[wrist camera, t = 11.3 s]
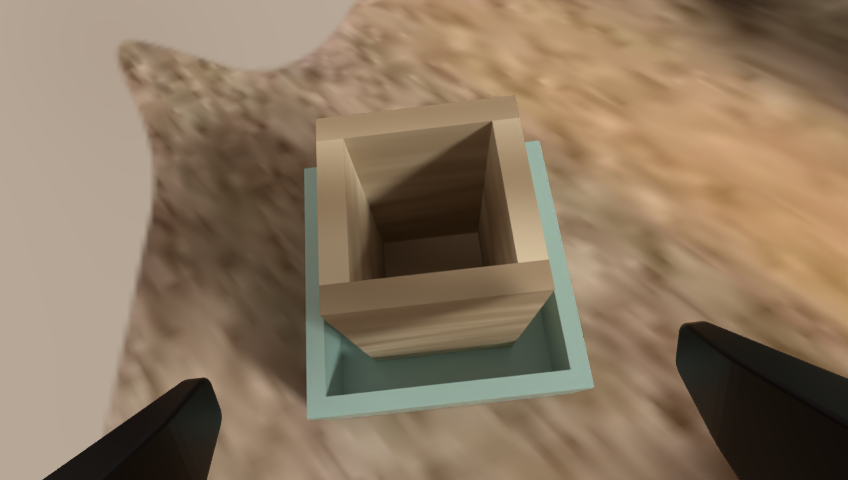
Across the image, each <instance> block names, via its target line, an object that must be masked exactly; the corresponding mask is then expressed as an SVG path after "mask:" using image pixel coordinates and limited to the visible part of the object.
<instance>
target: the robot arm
mask: <svg viewBox="0 0 848 480" xmlns="http://www.w3.org/2000/svg"><path fill="white" fill-rule="evenodd" d="M676 365H677V369H678V372H679V374H680V376H681V378H682V380H683V382H684V384H685V386H686V388H687V389H688V391H689V393H690V395H691V397H692V399H693V401H694V403H695V405H696V407H697V409H698V411H699V413H700V415H701V416H702V418H703V420H704V422H705V424H706V426H707V428H708V430H709V432H710V434H711V436H712V437H713V439H714V441H715V443H716V445H717V446H718V448H719V449H720V451H721V453H722V454H723V456H724V457H725V459H726V460H727V462H728V463H729V465H730V467H731V468H732V470H733V471H734V473H735V474H736V476H737V477H738V479H739V480H848V378H845V377H843V376H840V375H838V374H835V373H833V372H830V371H828V370H825V369H823V368H820V367H818V366H815V365H813V364H810V363H808V362H805V361H803V360H800V359H798V358H795V357H793V356H790V355H788V354H785V353H783V352H780V351H778V350H776V349H773V348H771V347H768V346H766V345H763V344H761V343H758V342H756V341H753V340H751V339H748V338H746V337H743V336H741V335H738V334H736V333H733V332H731V331H728V330H726V329H723V328H721V327H718V326H716V325H713V324H711V323H709V322H705V321H700V322H691V323H684V324H683V325H682V326H681V327H680V330H679V336H678V344H677V353H676ZM221 420H222V414H221V409H220V406H219V404H218V401H217V398H216V395H215V393H214V390H213V387H212V384H211V382H210V381H209V380H208V379H207V378H195V379H187V380H184V381H182V382H181V383H179V384H178V385H177V386H175V387H174V388H172V389H171V390H169V391H168V392H167V393H165V394H164V395H162V396H161V397H159V398H158V399H157V400H155V401H154V402H152V403H151V404H150V405H148V406H147V407H145V408H144V409H142V410H141V411H140V412H138V413H137V414H135V415H134V416H132V417H131V418H130V419H128V420H127V421H125V422H124V423H122V424H121V425H120V426H118V427H117V428H115V429H114V430H113V431H111V432H110V433H108V434H107V435H105V436H104V437H103V438H101V439H100V440H98V441H97V442H95V443H94V444H93V445H91V446H90V447H88V448H87V449H86V450H84V451H83V452H81V453H80V454H78V455H77V456H76V457H74V458H73V459H71V460H70V461H68V462H67V463H66V464H64V465H63V466H61V467H60V468H58V469H57V470H56V471H54V472H53V473H51V474H50V475H48V476H47V477H46V478H44V479H43V480H207V477H208V473H209V469H210V465H211V461H212V457H213V453H214V449H215V446H216V442H217V438H218V434H219V430H220V426H221Z"/></svg>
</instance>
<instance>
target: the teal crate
mask: <svg viewBox="0 0 848 480" xmlns="http://www.w3.org/2000/svg"><path fill="white" fill-rule="evenodd" d="M525 146H526V151H527V156H528V161H529V166H530V171H531V175H532V180H533V185H534V190H535V195H536V199H537V204H538V209H539V214H540V219H541V224H542V228H543V233H544V238H545V243H546V248H547V252H548V257H549V262H550V267H551V272H552V277H553V281H554V286H555V290H554V291H553V293H552V294H551V295H550V297H549V298H548V299H547V301H546V302H545V303H544V305H543V306H542V307H541V309H540V310H539V311H538V313H537V314H536V315H535V317H534V318H533V319H532V321H531V322H530V323H529V325H528V326H527V327H526V329H525V330H524V331H523V333H522V334H521V335H520V336H519V338H518V339H517V340H516V342H515V343H514V344H513V346H512V347H503V348H494V349H485V350H476V351H467V352H458V353H449V354H440V355H431V356H421V357H412V358H403V359H394V360H385V361H375V360H374V359H372V358H371V357H370V356H369V355H367V354H366V353H365V352H364V351H363V350H361V349H360V348H359V347H358V346H356V345H355V344H354V343H353V342H351V341H350V340H349V339H348V338H347V337H345V336H344V335H343V334H342V333H340V332H339V331H338V330H337V329H335V328H334V327H333V326H332V325H331V324H329V323H328V322H327V321H326V320H324V319H323V318H322V317H321V316H320V306H319V257H318V207H317V167H313V168H305V169H304V197H305V285H306V374H307V419H315V420H339V419H348V418H357V417H366V416H375V415H384V414H393V413H402V412H411V411H420V410H430V409H439V408H448V407H457V406H466V405H475V404H484V403H493V402H502V401H511V400H520V399H529V398H538V397H547V396H557V395H566V394H571V393H575V392H579V391H583V390H587V389H591V388H594V383H593V379H592V374H591V370H590V365H589V361H588V356H587V352H586V347H585V343H584V338H583V334H582V329H581V325H580V320H579V316H578V311H577V307H576V302H575V298H574V293H573V289H572V285H571V280H570V276H569V271H568V267H567V262H566V258H565V253H564V249H563V244H562V240H561V235H560V231H559V226H558V222H557V217H556V213H555V208H554V204H553V199H552V195H551V191H550V186H549V182H548V177H547V173H546V168H545V164H544V159H543V155H542V150H541V146H540V141H532V142H525Z"/></svg>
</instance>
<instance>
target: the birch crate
mask: <svg viewBox="0 0 848 480" xmlns="http://www.w3.org/2000/svg"><path fill="white" fill-rule="evenodd" d="M316 158H317V207H318V257H319V306H320V316H321V317H322V318H323V319H324V320H326V321H327V322H328V323H329V324H331V325H332V326H333V327H334V328H335V329H337V330H338V331H339V332H340V333H342V334H343V335H344V336H345V337H347V338H348V339H349V340H350V341H351V342H353V343H354V344H355V345H356V346H358V347H359V348H360V349H361V350H363V351H364V352H365V353H366V354H367V355H369V356H370V357H371V358H372V359H374V360H375V361H385V360H394V359H403V358H412V357H421V356H431V355H440V354H449V353H458V352H467V351H476V350H485V349H494V348H503V347H512V346H513V344H514V343H515V342H516V340H517V339H518V338H519V336H520V335H521V334H522V333H523V331H524V330H525V329H526V327H527V326H528V325H529V323H530V322H531V321H532V319H533V318H534V317H535V315H536V314H537V313H538V311H539V310H540V309H541V307H542V306H543V305H544V303H545V302H546V301H547V299H548V298H549V297H550V295H551V294H552V293H553V291H554V290H555V286H554V281H553V277H552V272H551V267H550V262H549V257H548V252H547V248H546V243H545V238H544V233H543V228H542V224H541V219H540V214H539V209H538V204H537V199H536V195H535V190H534V185H533V180H532V175H531V171H530V166H529V161H528V156H527V151H526V146H525V142H524V137H523V132H522V127H521V122H520V118H519V113H518V108H517V103H516V98H515V95H513V96H505V97H497V98H488V99H480V100H471V101H463V102H455V103H446V104H438V105H429V106H421V107H413V108H404V109H396V110H387V111H379V112H371V113H362V114H354V115H346V116H337V117H329V118H320V119H316Z"/></svg>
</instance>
